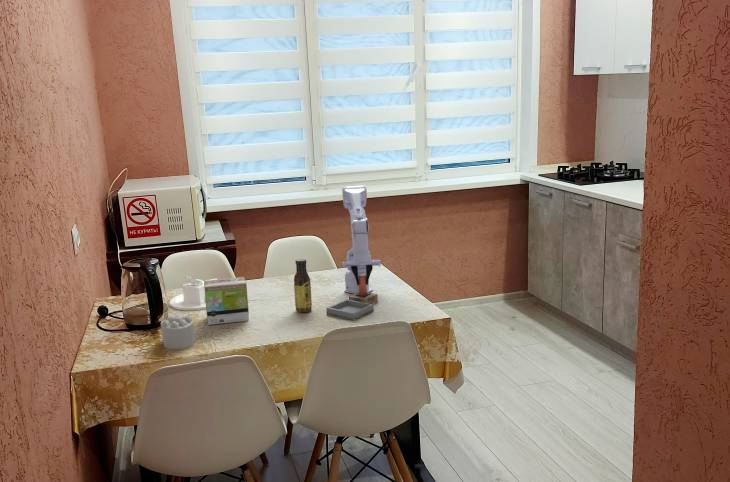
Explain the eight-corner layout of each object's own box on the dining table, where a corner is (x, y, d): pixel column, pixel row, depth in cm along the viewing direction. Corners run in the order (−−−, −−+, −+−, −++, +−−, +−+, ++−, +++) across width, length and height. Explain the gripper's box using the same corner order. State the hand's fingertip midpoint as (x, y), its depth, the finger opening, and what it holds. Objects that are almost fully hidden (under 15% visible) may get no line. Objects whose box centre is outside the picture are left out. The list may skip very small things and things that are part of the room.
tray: (326, 314, 244) (326, 307, 243) (346, 305, 253) (346, 299, 252) (353, 320, 236) (353, 313, 235) (373, 310, 245) (373, 304, 245)
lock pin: (357, 295, 255) (356, 275, 253) (362, 293, 257) (361, 274, 255) (363, 296, 253) (362, 276, 251) (368, 294, 255) (367, 275, 253)
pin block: (349, 303, 255) (348, 296, 254) (361, 298, 261) (361, 291, 260) (365, 307, 250) (364, 299, 249) (377, 301, 256) (377, 294, 255)
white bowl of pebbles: (191, 334, 230) (188, 310, 228) (199, 345, 218) (196, 321, 216) (160, 339, 225) (158, 316, 223) (167, 352, 214) (164, 327, 212)
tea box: (208, 326, 237) (204, 287, 233) (207, 317, 246) (203, 280, 243) (249, 321, 240) (246, 282, 237) (247, 312, 250) (244, 275, 247)
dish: (196, 315, 251) (193, 286, 248) (157, 305, 266) (154, 278, 263) (244, 297, 270) (242, 271, 267) (205, 289, 285) (202, 264, 282)
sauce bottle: (309, 313, 245) (306, 262, 241) (293, 313, 247) (289, 262, 242) (314, 307, 252) (311, 257, 247) (298, 307, 253) (295, 257, 249)
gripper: (342, 253, 247) (344, 288, 250) (380, 251, 247) (381, 286, 250) (342, 249, 254) (343, 283, 257) (379, 247, 254) (380, 281, 257)
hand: (362, 284), depth 254 cm, fingers closed on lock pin, 3 cm apart
